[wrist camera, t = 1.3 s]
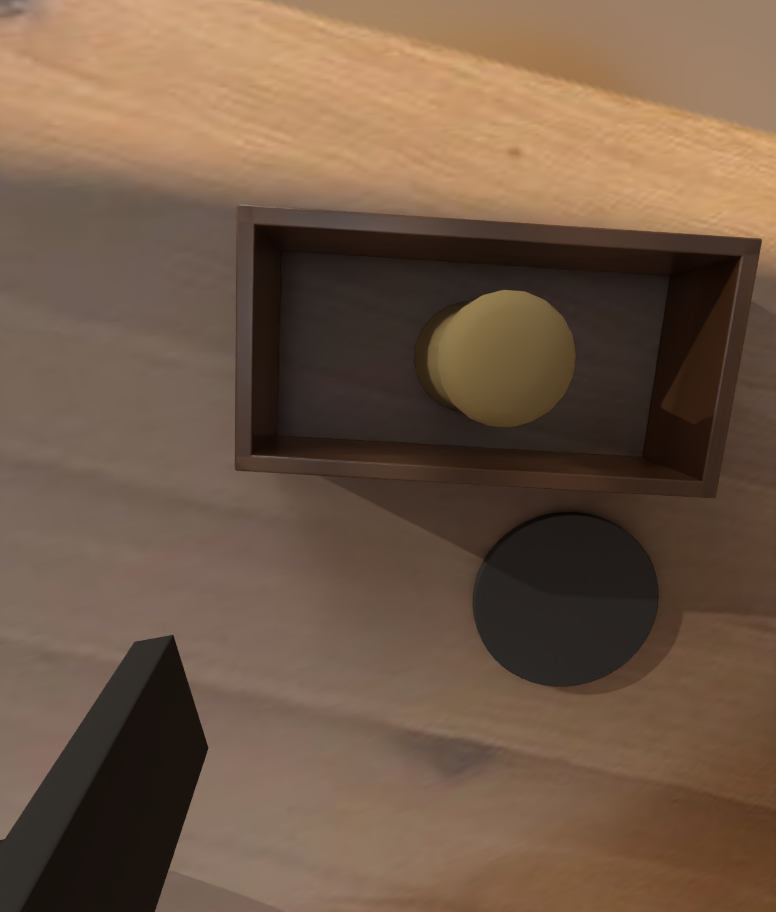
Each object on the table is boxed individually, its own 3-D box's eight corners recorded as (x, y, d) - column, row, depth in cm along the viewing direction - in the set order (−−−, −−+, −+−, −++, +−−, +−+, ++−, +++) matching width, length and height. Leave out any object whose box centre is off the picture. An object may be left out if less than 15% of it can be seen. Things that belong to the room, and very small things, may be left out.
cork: (544, 338, 30) (634, 331, 19) (484, 431, 31) (538, 474, 20) (451, 279, 29) (491, 237, 18) (393, 376, 30) (399, 389, 19)
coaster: (667, 517, 32) (672, 520, 31) (639, 685, 34) (644, 691, 33) (481, 506, 32) (483, 509, 31) (464, 676, 34) (466, 682, 33)
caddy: (687, 261, 29) (763, 238, 23) (654, 471, 31) (716, 498, 25) (266, 233, 29) (236, 203, 23) (262, 448, 31) (234, 471, 25)
